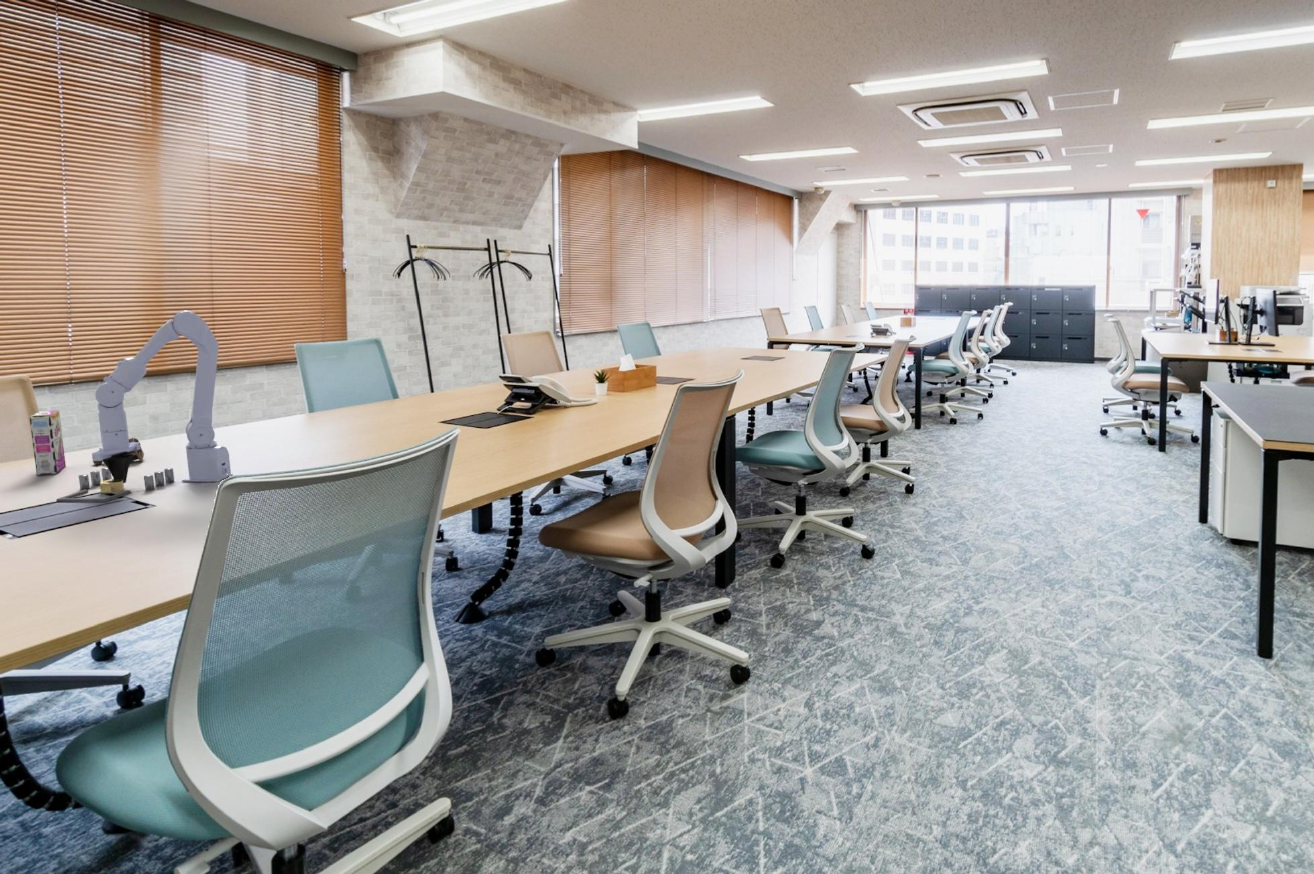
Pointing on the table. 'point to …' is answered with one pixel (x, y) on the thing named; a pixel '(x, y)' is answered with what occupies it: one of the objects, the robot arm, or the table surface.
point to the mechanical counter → (136, 453)
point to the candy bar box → (47, 442)
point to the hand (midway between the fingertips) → (120, 483)
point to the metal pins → (107, 476)
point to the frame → (71, 499)
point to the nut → (112, 486)
